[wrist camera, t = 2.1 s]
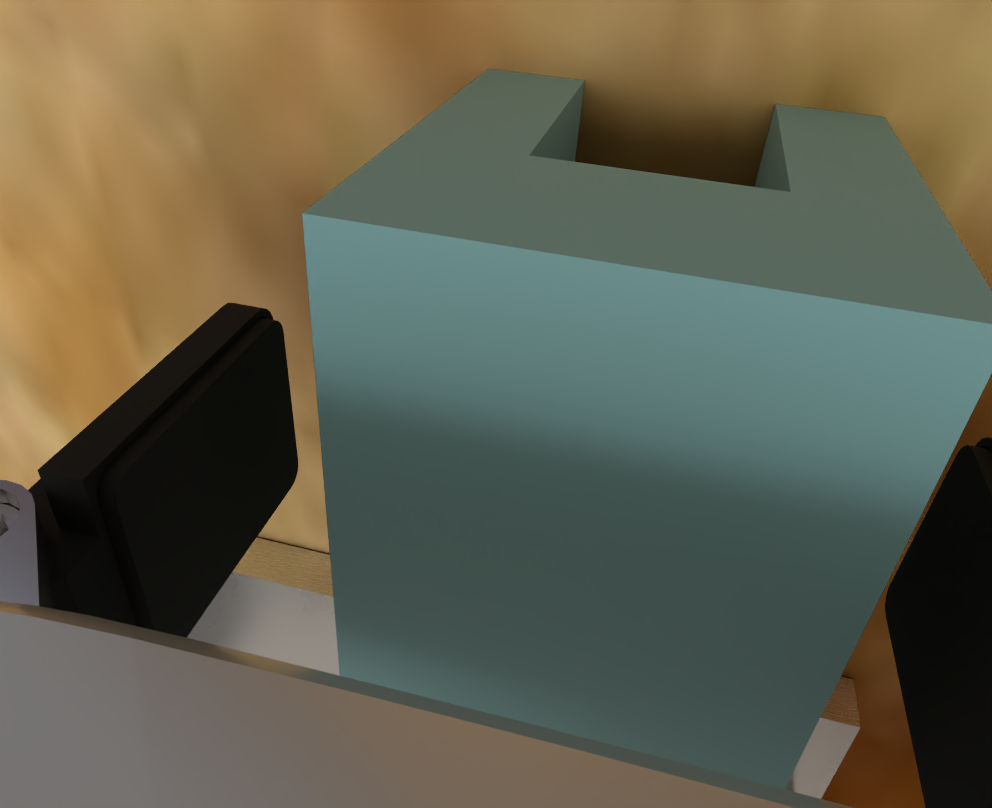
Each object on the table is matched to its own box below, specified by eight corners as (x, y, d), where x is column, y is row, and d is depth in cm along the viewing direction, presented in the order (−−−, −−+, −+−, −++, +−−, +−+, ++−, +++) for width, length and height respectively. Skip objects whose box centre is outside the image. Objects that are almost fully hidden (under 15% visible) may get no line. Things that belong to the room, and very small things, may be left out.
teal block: (884, 116, 11) (1014, 328, 6) (735, 564, 16) (734, 889, 11) (488, 68, 12) (302, 212, 7) (465, 504, 17) (347, 778, 12)
